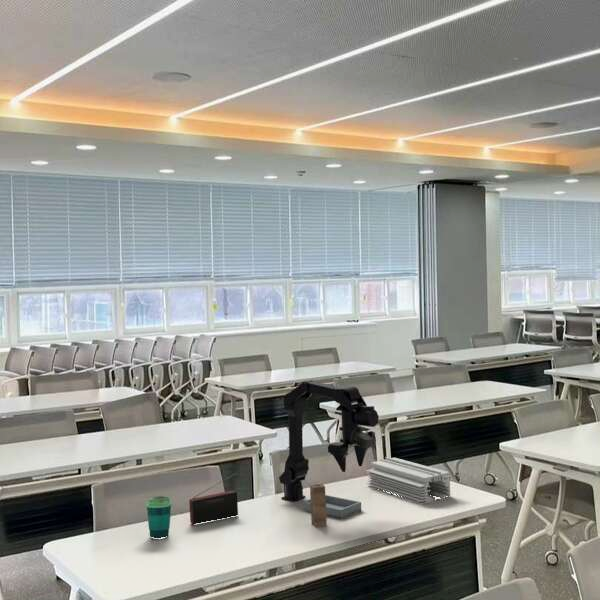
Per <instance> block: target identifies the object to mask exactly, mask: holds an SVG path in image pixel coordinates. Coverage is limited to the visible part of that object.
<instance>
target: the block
mask: <svg viewBox="0 0 600 600" xmlns="http://www.w3.org/2000/svg"><path fill="white" fill-rule="evenodd" d="M325 495H326V486H325V485H324V484H323V483H321V482H320V483H319V482H318V483H314V484H313V483H312V484H309V496H310V497H309V498H310V499H311V512H310V515H311V525H312V526H313V527H314V528H320V527H327V526H328V524H327V523H328V520H327V516H326V497H325ZM310 499H309V500H310Z"/></svg>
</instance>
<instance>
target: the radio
mask: <svg viewBox="0 0 600 600" xmlns="http://www.w3.org/2000/svg"><path fill="white" fill-rule="evenodd" d="M238 473H240V472H239V471H237V472H236V473H234V474H232V475H231V476H229V477H227V478H225V479H223V480H221V481H220V482H217V483H216V484H214V485H212V486H210V487H209V488H207V489H206V490H203V491H202V492H199V493H198V494H196V495H195V496H193V497H192V498H190V499H189V501H188V502H189V516H190V517H189V521H190V522H191V523H192V524H196V523H201V522H206V521H211V520H217V519H222V518H227V517H231V516H236V515H238V516H239V505H238V493H237V492H236V491H235V490H229V491H224V492H219V493H214V494H209V495H204V496H200V495H201V494H204V493H205V492H207V491H208V490H210V489H212V488H214V487H215V486H217V485H219V484H221V483H222V482H224V481H226V480H227V479H229V478H231V477H233V476H235V475H236V474H238ZM199 496H200V497H199ZM191 523H190V524H191ZM192 524H191V525H192Z"/></svg>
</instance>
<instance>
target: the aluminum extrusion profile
mask: <svg viewBox="0 0 600 600" xmlns="http://www.w3.org/2000/svg"><path fill="white" fill-rule="evenodd" d="M370 466H371V467H372V468H369V469H366V470H365V471H366V473H365V474H367V477H368V479H369V480H367V483H366V486H368V487H367V488H369V487H370V489H372V488H374V489H373V490H375V489H377V490H376V491H378V489H379V490H380V491H379V492H381V490H382V491H383V490H384V491H385V492H386V491H387V492H390V493H391V492H392V493H393V494H394V493H395V494H396V495H397V494H398V495H399V496H400V497H401V496H402V497H403V498H404V499H403V498H402V497H401V498H400V497H399V496H398V495H397V496H398V497H397V496H396V497H397V498H400V499H403V500H406V501H410V502H412V503H415V504H419V505H424V504H427V503H426V502H428V503H430V502H429V501H432V502H434V501H433V500H435V497H433V496H436V497H440V498H443V499H445V498H444V497H446V496H450V497H451V479H450V478H449V477H447V476H450V475H451V473H450V471H447V470H442V469H439V468H436V467H435V468H434V467H431V466H427V465H423V464H420V463H417V462H412V461H408V460H406V459H401V458H397V457H387V456H385V459H383V458H379V460H377V461H373V462H371V463H370ZM392 493H391V494H392ZM391 494H390V495H391ZM430 495H431V496H430ZM423 503H424V504H423Z"/></svg>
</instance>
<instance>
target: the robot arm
mask: <svg viewBox="0 0 600 600" xmlns="http://www.w3.org/2000/svg"><path fill="white" fill-rule="evenodd" d="M312 395H317V396H320V397H324V398H330V399H331V400H333V401H334V402H335V403H336V404H339V405H338V406H337V407H336V408H335V410H336V411H339V412H341V414H340V415H341V416H340V417H341V426H339V427H338V428H339V431H341V436H342V437H341V438H339V442H337V441H336V442H333V443H329V444H328V446H327V453H329V454H330V455H332V456H333V458H334V459H335V461H336V462H337V464H338V467H339V468H340V470H341V472H342V473H346V471H347V470H346V469H347V467H346V466H347V457H348V455H349V452H348V451H349V448H353V447H354V448H353V449H354V453H355V457H356V461H357V463H358V464H357V465H358V467H362V466H363V464H364V460H365V456H366V453H367V451H368V450H369V449H370V448H371V447H372V446H373V445H374V442H376V432H375V431H373V430H369V431H367V432H366V431H365V432H364V431H363V427H372V428H375V427H376V426H377V425H378V423H379V417H380V416H379V414H378V412H377V410H375V406H373V405H367V403H366V401H365V399H364V398H363V397H362V395H361V393H360V391H359V388H357V387H356V386H335V385H331V384H328V383H327V384H326V383H322V382H319V381H315V380H312V379H309V380H304V381H302V382H301V383H300V384H299V385H298V386H297V387H295V388H293V389H292V390H291V391H289V392H287V393H286V394H285V395H284V396H283V407H284V411H285V412H286V414H287V415H288V450H289V451H288V456H287V458H286V460H285V463H284V471H283V472H282V473H281V474H280V476H279V477H278V479H279V483H280V484H281V485H283V496H281V500H285V501H286V500H287V501H291V502H296V501H298V500H301V499H305V498H306V495H304V488H303V483H302V481H305V480H306V478H307V477H306V476H307V475H308V472H309V470H310V467H309V463H310V461H309V459H308V458H305V455H304V452H303V446H304V445H303V440H304V439H303V415H304V413H305V411H306V409H307V403H308V400H309V399H310V397H312Z"/></svg>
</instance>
